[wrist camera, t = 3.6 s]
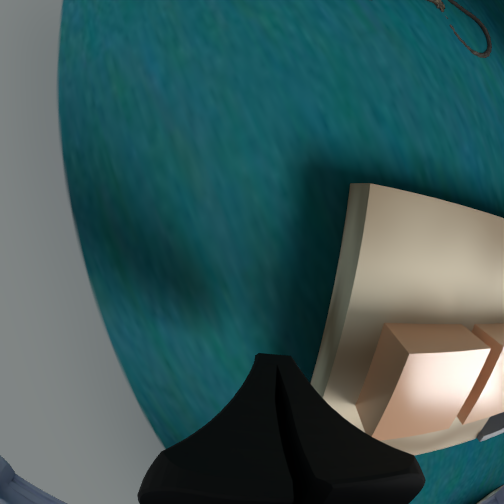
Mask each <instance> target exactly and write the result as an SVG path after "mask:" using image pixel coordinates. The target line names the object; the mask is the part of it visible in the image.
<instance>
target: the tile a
mask: <svg viewBox="0 0 504 504" xmlns="http://www.w3.org/2000/svg"><path fill="white" fill-rule="evenodd" d="M490 349H491V348H490V347H489V346H487V345H486V344H485V343H484V342H483V341H482V340H480V339H479V338H478V337H477V336H476V335H474V334H473V333H472V332H471V331H469V330H468V329H467V328H466V327H465V326H463V325H462V324H410V323H384V325H383V328H382V332H381V335H380V338H379V341H378V344H377V348H376V351H375V354H374V356H373V359H372V362H371V365H370V368H369V371H368V373H367V376H366V379H365V382H364V384H363V387H362V389H361V392H360V394H359V397H358V399H357V402H356V404H355V407H356V409H357V412H358V414H359V417H360V420H361V423H362V425H363V428H364V431H365V433H366V434H368V435H370V436H372V437H373V438H375V439H377V440H379V441H382V440H390V439H397V438H404V437H410V436H416V435H421V434H426V433H431V432H436V431H440V430H445V429H449V427H450V426H451V424H452V423H453V421H454V419H455V418H456V416H457V414H458V413H459V411H460V409H461V408H462V406H463V404H464V402H465V401H466V399H467V397H468V395H469V393H470V391H471V390H472V388H473V386H474V384H475V382H476V380H477V378H478V376H479V374H480V372H481V369H482V367H483V365H484V363H485V361H486V359H487V356H488V354H489V352H490Z"/></svg>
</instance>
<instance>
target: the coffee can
mask: <svg viewBox="0 0 504 504" xmlns="http://www.w3.org/2000/svg"><path fill="white" fill-rule="evenodd" d="M501 487H502V486H501ZM501 487H499V488H498V489H496V490H495V491H493V492H492V493H490V494H489V495H487V496H486V497H485V498H483V499H482V500H481V501H479V502H478V503H480V502H482V501H484V500H486V499H488V498H490V497H491V496H493V495H495V493H496V492H497V491H498V490H499V489H500V488H501ZM478 503H477V504H478Z"/></svg>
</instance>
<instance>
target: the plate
mask: <svg viewBox="0 0 504 504" xmlns="http://www.w3.org/2000/svg"><path fill="white" fill-rule="evenodd" d="M384 323H410V324H462V325H463V326H465V327H466V328H467V329H468V330H469V331H471V332H472V330H473V327H474V324H492V323H504V218H501V217H498V216H495V215H492V214H489V213H486V212H483V211H479V210H476V209H473V208H469V207H466V206H462V205H459V204H455V203H452V202H448V201H444V200H441V199H437V198H433V197H429V196H425V195H421V194H417V193H412V192H408V191H404V190H399V189H395V188H390V187H386V186H381V185H376V184H371V183H350V190H349V198H348V205H347V212H346V219H345V226H344V232H343V238H342V244H341V250H340V256H339V261H338V267H337V272H336V277H335V283H334V288H333V293H332V297H331V302H330V307H329V311H328V316H327V320H326V325H325V329H324V333H323V337H322V341H321V346H320V350H319V353H318V357H317V361H316V365H315V369H314V372H313V376H312V380H311V383H310V384H311V385H312V386H313V387H314V389H315V390H316V391H317V392H318V393H319V395H320V396H321V397H322V398H323V399H324V400H325V401H326V402H327V403H328V404H329V405H330V406H331V407H332V408H333V409H334V410H335V411H337V412H338V413H339V414H340V415H341V416H342V417H343V418H345V419H346V420H347V421H349V422H350V423H351V424H353V425H354V426H356V427H357V428H359V429H360V430H362V431H363V432H365V431H364V428H363V425H362V423H361V420H360V417H359V414H358V412H357V409H356V407H355V404H356V402H357V399H358V397H359V394H360V392H361V389H362V387H363V384H364V382H365V379H366V376H367V373H368V371H369V368H370V365H371V362H372V359H373V356H374V354H375V351H376V348H377V344H378V341H379V338H380V335H381V332H382V328H383V325H384ZM489 418H490V417H488V418H485V419H481V420H478V421H475V422H471V423H468V424H464V425H462V423H461V422H460V421H459V419H458V418H457V416H456V418H455V419H454V421H453V423H452V424H451V426H450V427H449V429H445V430H440V431H436V432H431V433H426V434H421V435H416V436H410V437H404V438H397V439H390V440H382V441H381V442H383V443H385V444H387V445H389V446H391V447H394V448H396V449H399V450H402V451H404V452H407V453H409V454H412V455H418V454H423V453H427V452H431V451H435V450H439V449H443V448H446V447H450V446H453V445H457V444H460V443H463V442H466V441H469V440H472V439H475V438H476V437H477V436H478V434H479V433H480V431H481V430H482V428H483V427H484V425H485V424H486V422H487V421H488V419H489Z"/></svg>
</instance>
